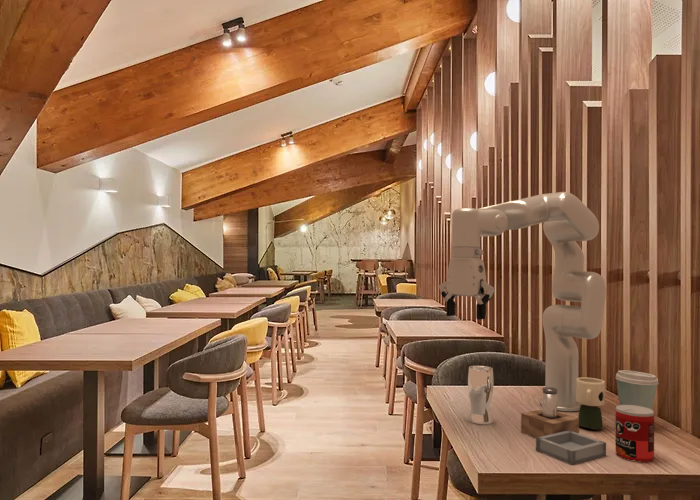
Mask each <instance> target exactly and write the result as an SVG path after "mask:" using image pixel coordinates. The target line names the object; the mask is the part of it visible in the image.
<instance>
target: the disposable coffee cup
mask: <svg viewBox="0 0 700 500" xmlns="http://www.w3.org/2000/svg"><path fill="white" fill-rule="evenodd" d="M615 379H616V387H617V395H618V402H619V404H618V405H635V406H641V407H646V408H649V409H651V410H653V407H654V402H655V398H656V391H657V386H658V385H659V379H658V377H657V375H654V374H652V373H648V372H647V373H646V372H642V371H635V370H625V369H624V370H622V369H621V370H618V371H617V372H616V374H615Z"/></svg>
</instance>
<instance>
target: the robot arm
mask: <svg viewBox="0 0 700 500" xmlns="http://www.w3.org/2000/svg"><path fill="white" fill-rule="evenodd" d="M539 224H543V225H542V226H543V232H544V235H545V237H546V238H547V240H548V241H549V243H550V244H551V246H552V249H553V251H554V255H555V258H554V259H555V261H554V267H553V269H554V270H553V276H552V283H551V284H552V285H551V292H552V295H553V297H554V298H555V299H557V300H559V301H565V302H574V303H575V302H576V303H581V304H580V306H577V305H569V304H552V305H550V306H548V307H546V308H545V309H544V311H543V313H542V319H541V320H542V326H543V332H544V338H545V340H544V341H545V381H544V382H545V387H551V388H556V389H557V411H558V412H579V410H580V406H581V405H582V404H580V403H578V402H577V401H576V379H577V378H579V348H578V345H577V343H576V341H575V338H578V339H585V340H593V339H595V338H597V337H598V336H599V335H600V333H601V330H602V327H603V320H604V313H605V306H606V305H605V304H606V298H607V297H606V296H607V286H606V282H605V279H604V277H603V276H602V275H601V274H599V273H597V272H593V271H584V266H585V254H584V252H583V250H582V248H581V247H580V245H579V244H578V242H587V241H591V240H593V239H595V238H596V237H597V235H598V234H599V232H600V231H599V230H600V223H599V220H598V218H597V217H596V215H595V214H594V212H592V210H591V209H590V208H588V206H587V205H585V203H583V201H582V200H580V198H578V197H577V196H576V195H574V194H573V193H571V192H568V191H558V192H551V193H541V194H537V195H533V196H528V197H525V198H520V199H515V200H510V201H507V202H502V203H498V204H494V205H489V206H485V207H480V208H479V207H478V208H473V207H463V208H462V207H461V208H456V209H454V210H453V212H452V213H451V258H450V259H449V263H448V269H447V278H446V279H447V280H446V281H444V282H441V284H439V285H438V287H439V288H438V289H439V291H440V294H441V296H442V297H443V301H444V302H445V303H446V304H445V305H446V306H445V308H446V309H445V310H446V311H445V312H446V314H445V315H446V317H454V316H456V300H455V299H456V297H457V296H459V297H474V298H475V300H476V302H477V304H476V307H475V308H476V309H475V310H476V311H475V313H476V314H475V318H476V320H479V321H480V320H485V319H486V317H487V316H486V315H487V305H488V303H489V301H490V300H491V299H492V298H493V295H494V293H495V290H496V289H495V287H494V286H492V285H490V284H489V283H487V276H486V268H485V263H484V259H481V256H482V255H484V250H483V249H481V237H496V236H499V235H501V234H503V233H504V232H505V231H512V230H520V229H521V230H522V229H525V228H529V227H532V226H535V225H539ZM454 300H455V301H454ZM539 404H540V405H541V406H542V398H540V400H539Z"/></svg>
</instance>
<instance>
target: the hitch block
mask: <svg viewBox="0 0 700 500" xmlns="http://www.w3.org/2000/svg"><path fill="white" fill-rule="evenodd" d="M568 430H570V431H573V432H576V433H579V434H580V426H579V418H578V417H576V416H572V415H570V414H566V413H563V412H561V411H557V419H552V420H551V419H548V418H545V417H542V409H537V410H531V411H527V412H521V414H520V433H522V434H524V435H527V436H530V437H532V438H534V439H536V438H537V437H541V436H546V435H550V434H555V433H559V432H564V431H568Z"/></svg>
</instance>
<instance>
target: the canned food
mask: <svg viewBox="0 0 700 500" xmlns="http://www.w3.org/2000/svg"><path fill="white" fill-rule="evenodd" d="M615 453H616V455H617V456H618V457H619V456H620V458H621V457H622V458H621V459H624V458H625V459H624V460H626V459H629V460H628V461H630V460H635V461H641V462H640V463H649V462H648V461H650V462H651V461H652V462H653V460H654V457H655V412H654V410H653V409H652V410H651V409H649V408H646V407H641V406H635V405H620V404H618V405H616V406H615ZM635 461H634V462H635Z"/></svg>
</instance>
